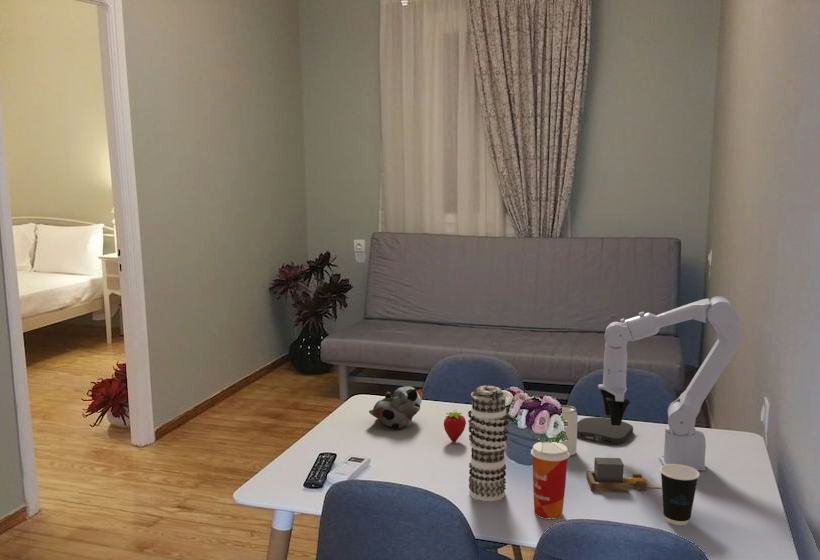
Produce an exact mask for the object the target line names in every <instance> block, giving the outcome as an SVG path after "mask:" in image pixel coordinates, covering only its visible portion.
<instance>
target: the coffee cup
mask: <svg viewBox="0 0 820 560" xmlns="http://www.w3.org/2000/svg"><path fill="white" fill-rule="evenodd" d="M530 455H531V456H532V459H531V460H532V484H533V485H532V487H533V488H532V489H533V491H532V492H533V510H534V514H535V513H536V514H537V515H538V516H540V517H543V518H542V519H544V518H551V519H550V520H553V519H552V518H557V519H559V517H560V518H561V517H562V516H563V512H564V511H563V510H564V502H565V501H564V500H565V493H566V492H565V491H566V482H567V481H566V480H567V471H568V470H567V469H568V461H569V460H568V458H569V457H571V456H570V454H569V452H568V449H567V447H566V446H565V445H563V444H561V443H557V442H552V441H551V442H550V441H543V442H542V441H539V442H536V443H535V444H533V446H532V449H531V450H530ZM536 514H535V515H536ZM537 515H536V516H537ZM561 515H562V516H561ZM538 516H537V517H538ZM540 517H539V518H540Z"/></svg>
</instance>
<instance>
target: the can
mask: <svg viewBox="0 0 820 560" xmlns="http://www.w3.org/2000/svg"><path fill="white" fill-rule="evenodd" d="M560 406H561V408H562V415H563V419H567V421H568V426H567V427H564V430H565V432H566V434H567V436H568V439H569V440H568V441H565V442H559V443H561V444H563V445H565V446H566V447H567V449H568V452H569V454H570V456H569V457H571V456H574V455H576V453H577V446H578V445H577V442H578V438H577V422H578V413H577V408H576V407H574V406H572V405H564V404H563V405H560Z"/></svg>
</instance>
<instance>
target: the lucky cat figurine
mask: <svg viewBox="0 0 820 560" xmlns="http://www.w3.org/2000/svg"><path fill="white" fill-rule="evenodd" d="M422 401H423V389H422V388H421V389H418V390H417V388H415V387H413V386H407V385H404V386H401V387H398V388H397V389H395V390H394V392H393V394H391V392H389V391H386V393H385V395H384V398H383V399H380V400H378V401H377V402H376V403H375V404H374V406H373V409H370V410H368V412H369V414H370V415H371V416H373V417H375V418H376V419H378V420H379V421H380V422H381V423H383V424H385V425H386V426H388V427H390V428H394V427H395V429H396V430H397V431H398V430H399V431H400V430H402V429H406V428H409V427H411V425H412V423H413V417H414V416H415V415H417V414H418V413H419V412H420V410H421V404H422Z"/></svg>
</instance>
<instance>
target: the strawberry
mask: <svg viewBox="0 0 820 560" xmlns="http://www.w3.org/2000/svg"><path fill="white" fill-rule="evenodd" d="M462 414H463V412H458V411H456V410H455V411H453V412H450V411H449V412H447V413H446V414H445V415H447V416H445V418H444V420H443V421H444V422H443V427H444V428H443V429H444V431H445V433H446V435H447V436H448V438H449V439H450V441H451V442H452V443H456V442H457V440H459V438H460V437H461V435H462V434H463V433H464V431H465V429H466V425H467V423H466V422H467V421H466V418H465V416H463V415H462Z"/></svg>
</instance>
